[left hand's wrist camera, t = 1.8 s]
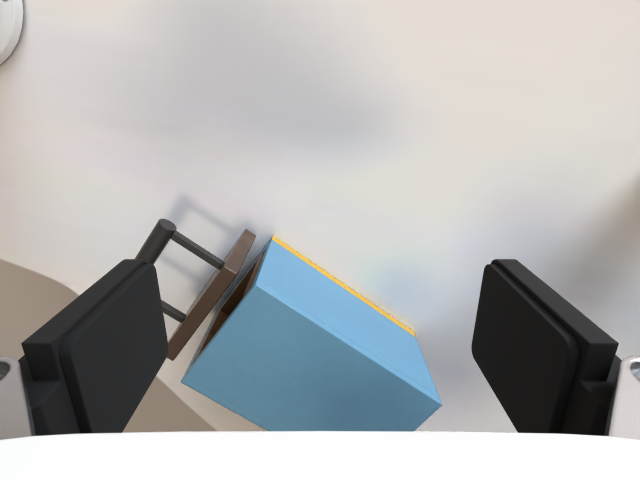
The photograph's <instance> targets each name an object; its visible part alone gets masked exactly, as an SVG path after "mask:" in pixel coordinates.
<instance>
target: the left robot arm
mask: <svg viewBox="0 0 640 480" xmlns="http://www.w3.org/2000/svg"><path fill="white" fill-rule="evenodd" d="M22 22H23V3H22V0H0V64H2V63H3V62H4V61H5V60H6V59H7V58H8V57H9V56H10V55H11V53H12V52H13V50H14V48H15V46H16V44H17V43H18V40H19V37H20V33H21V30H22ZM618 344H619V343H618V342H616V341H615V340H614V339H613V338H611V337H610V336H609V335H608V334H607V333H605V332H604V331H603V330H602V329H600V328H599V327H598V326H597V325H596V324H594V323H593V322H592V321H591V320H589V319H588V318H587V317H586V316H585V315H583V314H582V313H581V312H580V311H578V310H577V309H576V308H575V307H574V306H572V305H571V304H570V303H569V302H567V301H566V300H565V299H564V298H563V297H561V296H560V295H559V294H558V293H556V292H555V291H554V290H553V289H552V288H550V287H549V286H548V285H547V284H545V283H544V282H543V281H542V280H540V279H539V278H538V277H537V276H536V275H534V274H533V273H532V272H531V271H529V270H528V269H527V268H526V267H525V266H523V265H522V264H521V263H520V262H518V261H517V260H515V259H495V260H493V261H492V262H491V264H488V265H486V266H485V268H484V273H483V279H482V285H481V292H480V298H479V304H478V310H477V316H476V322H475V328H474V334H473V341H472V354H473V357H474V359H475V361H476V363H477V364H478V366H479V368H480V369H481V371H482V373H483V374H484V376H485V378H486V380H487V381H488V383H489V385H490V386H491V388H492V390H493V391H494V393H495V395H496V396H497V398H498V400H499V401H500V403H501V405H502V406H503V408H504V410H505V412H506V413H507V415H508V417H509V418H510V420H511V422H512V423H513V425H514V427H515V428H516V430H517V432H518V433H498V432H407V431H233V432H142V433H122V432H123V430H124V428H125V427H126V425H127V423H128V422H129V420H130V418H131V417H132V415H133V413H134V411H135V410H136V408H137V406H138V405H139V403H140V401H141V400H142V398H143V396H144V395H145V393H146V391H147V390H148V388H149V386H150V385H151V383H152V381H153V379H154V378H155V376H156V374H157V373H158V371H159V369H160V368H161V366H162V364H163V363H164V361H165V359H166V357H167V354H168V341H167V334H166V328H165V322H164V316H163V310H162V304H161V298H160V292H159V285H158V279H157V273H156V268H155V266H154V265H152V264H149V262H148V261H147V260H145V259H125V260H123V261H121V262H120V263H119V264H118V265H117V266H115V267H114V268H113V269H112V270H110V271H109V272H108V273H107V274H106V275H104V276H103V277H102V278H101V279H99V280H98V281H97V282H96V283H95V284H93V285H92V286H91V287H90V288H88V289H87V290H86V291H85V292H84V293H82V294H81V295H80V296H79V297H77V298H76V299H75V300H74V301H73V302H71V303H70V304H69V305H68V306H67V307H65V308H64V309H63V310H62V311H60V312H59V313H58V314H57V315H55V316H54V317H53V318H52V319H51V320H49V321H48V322H47V323H46V324H45V325H43V326H42V327H41V328H40V329H38V330H37V331H36V332H35V333H33V334H32V335H31V336H30V337H29V338H27V339H26V340H25V341H24V342H22V347H23V350H24V354H25V355H24V356H23V357H22V358H20V359H19V360H17V359H15V358H13V357H10V356H0V480H640V356H630V357H627V358H625V359H623V360H621V359H620V358H618V357H617V356H616V355H615V354H616V350H617V347H618Z"/></svg>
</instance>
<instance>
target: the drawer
mask: <svg viewBox="0 0 640 480" xmlns="http://www.w3.org/2000/svg"><path fill="white" fill-rule="evenodd" d="M255 237H256V235H254V234H253V233H251V232H250V231H248V230H247V229H246V230H245V231H244V232H243V234H242V235H241V236H240V238H239V239H238V241H237V242H236V243H235V245H234V246H233V248H232V249H231V250H230V252H229V253H228V255H227V256H226V257H225V259H224V260H223V261H222V260H221V259H219V258H217V257H216V256H214V255H213V254H211V253H210V252H208V251H207V250H205V249H204V248H202V247H200V246H199V245H197V244H196V243H194V242H193V241H191V240H190V239H188V238H187V237H185V236H183V235H182V234H180V233H179V232H177V231H176V226H175V225H174V224H173V223H172V222H170V221H168V220H166V219H160V220H159V221H158V223H157V224H156V226H155V227H154V229H153V231H152V232H151V234H150V235H149V237H148V239H147V240H146V242H145V243H144V245H143V247H142V248H141V250H140V251H139V253H138V255H137V256H136V258H135V259H145V260H147V261H148V262H149V264H152V265H154V263H155V261H156V260H157V258H158V257H159V255H160V254H161V252H162V251H163V249H164V248H165V246H166V245H167V243H168V241H169V240H170V239H172V240H174V241H175V242H177V243H178V244H180V245H181V246H183V247H184V248H186V249H188V250H189V251H191V252H192V253H194V254H195V255H197V256H198V257H200V258H202V259H203V260H205V261H206V262H208V263H209V264H211V265H213V266H214V267H216V268H217V270H216V271H215V273H214V274H213V276H212V277H211V278H210V280H209V281H208V283H207V284H206V285H205V287H204V288H203V290H202V291H201V292H200V294H199V295H198V297H197V298H196V299H195V301H194V302H193V304H192V305H191V307H190V309H189V310H188V312H187V313H186V315H185V314H184V313H182V312H180V311H179V310H177V309H175V308H174V307H172V306H170V305H169V304H167V303H166V302H164V301H162V300H161V304H162V310H163V312H164V313H165V314H167V315H169V316H170V317H172V318H174V319H175V320H177V321H179V322H180V324H179V326H178V327H177V329H176V330H175V332H174V334H173V335H172V337H171V338H170V340H169V341H168V354H167V358H169V359H170V360H172V361H173V360H174V359H175V358H176V357H177V355H178V354H179V353H180V351H181V350H182V349H183V347H184V346H185V345H186V343H187V342H188V340H189V339H190V338H191V336H192V335H193V334H194V332H195V331H196V330H197V328H198V327H199V326H200V324H201V323H202V322H203V320H204V319H205V317H206V316H207V315H208V313H209V312H210V311H211V309H212V308H213V307H214V305H215V304H216V303H217V301H218V300H219V299H220V297H221V296H222V294H223V293H224V292H225V290H226V289H227V288H228V286H229V285H230V284H231V282H232V281H233V280H234V278H235V277H236V276H237V274H238V272H239V270H240V268H241V266H242V264H243V262H244V260H245V258H246V256H247V254H248V252H249V250H250V247H251V245H252V243H253V241H254V239H255ZM264 253H265V252H264V251H263V252H262V253H261V255H260V256H259V257H258V259H257V260H256V261H255V263H254V264H253V265H252V267H251V268H250V269H249V271H248V272H247V273H246V275H245V276H244V277H243V279H242V280H241V281H240V283H239V284H238V285H237V287H236V288H235V289H234V291H233V292H232V293H231V295H230V296H229V297H228V299H227V300H226V301H225V303H224V304H223V305H222V307H221V308H220V309H219V311H218V313H217V315H216V317H215V319H214V321H213V323H212V325H211V327H210V329H209V331H208V333H207V335H206V337H205V339H204V341H203V343H202V345H201V347H200V349H199V351H198V353H197V355H196V357H195V359H194V362H195V360H196V359H197V358H198V356H199V355H200V354H201V352H202V351H203V350H204V348H205V347H206V346H207V345H208V343H209V342H210V341H211V339H212V338H213V337H214V335H215V334H216V333H217V331H218V330H219V329H220V327H221V326H222V325H223V324H224V322H225V321H226V320H227V318H228V317H229V316H230V314H231V313H232V312H233V310H234V309H235V308H236V307H237V305H238V304H239V303H240V301H241V300H242V299H243V297H244V296H245V295H246V293H247V292H248V291H249V289H250V288H251V287H252V284H253V281H254V279H255V276H256V274H257V271H258V268H259V266H260V263H261V260H262V258H263V255H264Z"/></svg>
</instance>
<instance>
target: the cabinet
mask: <svg viewBox="0 0 640 480" xmlns="http://www.w3.org/2000/svg"><path fill="white" fill-rule="evenodd" d="M263 251H264V252H265V253H264V255H263V258H262V260H261V263H260V266H259V268H258V271H257V274H256V276H255V279H254V281H253V284H252V287H251V288H250V289H249V291H248V292H247V293H246V295H245V296H244V297H243V299H242V300H241V301H240V303H239V304H238V305H237V307H236V308H235V309H234V310H233V312H232V313H231V314H230V316H229V317H228V318H227V320H226V321H225V322H224V324H223V325H222V326H221V327H220V329H219V330H218V331H217V333H216V334H215V335H214V337H213V338H212V339H211V341H210V342H209V343H208V345H207V346H206V347H205V348H204V350H203V351H202V352H201V354H200V355H199V356H198V358H197V359H196V360H195V362H194V359H195V357H196V355H197V353H198V351H199V349H200V347H201V345H202V343H203V341H204V339H205V337H206V335H207V333H208V331H209V329H210V327H211V325H212V323H213V321H214V319H215V317H216V315H217V313H218V311H219V309H220V308H221V307H222V305H223V304H224V303H225V301H226V300H227V299H228V297H229V296H230V295H231V293H232V292H233V291H234V289H235V288H236V287H237V285H238V284H239V283H240V281H241V280H242V279H243V277H244V276H245V275H246V273H247V272H248V271H249V269H250V268H251V267H252V265H253V264H254V263H255V261H256V260H257V259H258V257H259V256H260V255H261V253H262V252H263ZM262 252H261V253H260V254H259V256H258V257H257V258H256V260H255V261H254V262H253V264H252V265H251V266H250V268H249V269H248V270H247V272H246V273H245V274H244V276H243V277H242V278H241V280H240V281H239V282H238V284H237V285H236V286H235V288H234V289H233V290H232V292H231V293H230V294H229V296H228V297H227V298H226V300H225V301H224V302H223V304H222V305H221V307H220V308H219V309H218V311H217V312H216V313H215V314H214V316H213V318H212V321H211V323H210V325H209V327H208V329H207V331H206V333H205V335H204V337H203V339H202V341H201V343H200V345H199V347H198V349H197V351H196V353H195V355H194V357H193V359H192V361H191V363H190V365H189V367H188V368H187V370H186V372H185V375H184V376H183V378H182V380H181V383H183V384H185V385H187V386H188V387H190V388H192V389H194V390H196V391H197V392H199V393H201V394H203V395H205V396H206V397H208V398H210V399H212V400H213V401H215V402H217V403H219V404H221V405H222V406H224V407H226V408H228V409H230V410H231V411H233V412H235V413H237V414H239V415H240V416H242V417H244V418H246V419H248V420H249V421H251V422H253V423H255V424H256V425H258V426H260V427H262V428H264V429H265V430H267V431H407V432H413V431H415V430H416V429H417V428H418V427H419V426H420V425H421V424H422V423H423V422H424V421H425V420H427V419H428V418H429V417H430V416H431V415H432V414H433V413H434V412H435V411H436V410H437V409H438V408H440V407H441V406H442V403H441V400H440V398H439V395H438V393H437V390H436V387H435V385H434V382H433V380H432V377H431V375H430V372H429V370H428V367H427V365H426V362H425V359H424V357H423V354H422V352H421V349H420V347H419V344H418V342H417V339H416V336H415V333H414V332H413V331H412V330H410V329H409V328H407V327H406V326H404V325H403V324H401V323H400V322H398V321H397V320H395V319H394V318H393V317H391V316H390V315H388V314H387V313H385V312H384V311H382V310H381V309H379V308H378V307H376V306H375V305H374V304H372V303H371V302H369V301H368V300H366V299H365V298H363V297H362V296H360V295H359V294H357V293H356V292H355V291H353V290H352V289H350V288H349V287H347V286H346V285H344V284H343V283H341V282H340V281H338V280H337V279H336V278H334V277H333V276H331V275H330V274H328V273H327V272H325V271H324V270H322V269H321V268H319V267H318V266H317V265H315V264H314V263H312V262H311V261H309V260H308V259H306V258H305V257H303V256H302V255H300V254H299V253H298V252H296V251H295V250H293V249H292V248H290V247H289V246H287V245H286V244H284V243H283V242H281V241H280V240H279V239H277V238H276V237H274V236H273V237H272V238H271V240H270V241H269V242H268V244H267V245H266V246H265V248H264V249H263V250H262Z"/></svg>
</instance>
